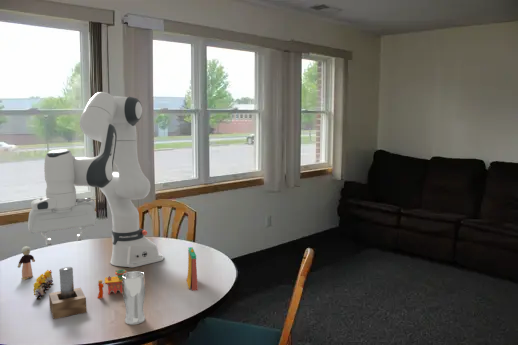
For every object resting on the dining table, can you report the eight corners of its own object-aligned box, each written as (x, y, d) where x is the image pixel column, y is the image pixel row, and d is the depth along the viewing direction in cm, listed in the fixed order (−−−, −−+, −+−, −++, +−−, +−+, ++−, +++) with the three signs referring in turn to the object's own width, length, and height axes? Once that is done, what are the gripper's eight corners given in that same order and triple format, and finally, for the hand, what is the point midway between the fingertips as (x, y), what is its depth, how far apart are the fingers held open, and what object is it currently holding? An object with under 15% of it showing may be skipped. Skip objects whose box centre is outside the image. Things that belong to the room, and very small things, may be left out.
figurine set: (30, 301, 163) (29, 283, 162) (45, 284, 179) (44, 267, 178) (41, 300, 163) (39, 282, 162) (55, 283, 179) (54, 267, 178)
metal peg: (73, 306, 158) (71, 266, 156) (75, 310, 155) (73, 269, 153) (61, 308, 156) (58, 268, 154) (62, 313, 153) (60, 271, 151)
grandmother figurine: (25, 281, 181) (23, 249, 179) (17, 280, 182) (14, 248, 180) (38, 274, 188) (36, 243, 187) (30, 273, 189) (28, 243, 188)
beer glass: (125, 316, 151) (124, 271, 149) (147, 315, 151) (146, 270, 149) (121, 326, 144) (119, 278, 142) (144, 325, 144) (142, 278, 142)
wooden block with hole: (81, 301, 162) (80, 287, 161) (86, 312, 154) (85, 297, 153) (49, 307, 157) (48, 293, 156) (53, 319, 149) (52, 303, 148)
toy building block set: (197, 290, 172) (197, 253, 170) (97, 300, 163) (95, 261, 161) (193, 278, 184) (192, 243, 182) (99, 287, 175) (97, 250, 173)
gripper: (93, 195, 158) (95, 235, 160) (25, 202, 148) (29, 244, 150) (97, 198, 153) (99, 239, 155) (27, 205, 143) (31, 249, 145)
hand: (64, 242), depth 152 cm, fingers open, 8 cm apart
